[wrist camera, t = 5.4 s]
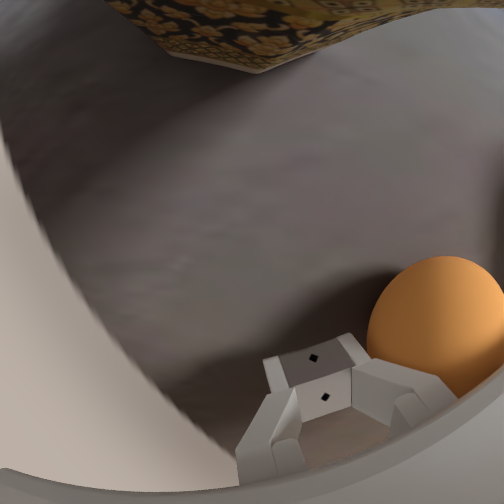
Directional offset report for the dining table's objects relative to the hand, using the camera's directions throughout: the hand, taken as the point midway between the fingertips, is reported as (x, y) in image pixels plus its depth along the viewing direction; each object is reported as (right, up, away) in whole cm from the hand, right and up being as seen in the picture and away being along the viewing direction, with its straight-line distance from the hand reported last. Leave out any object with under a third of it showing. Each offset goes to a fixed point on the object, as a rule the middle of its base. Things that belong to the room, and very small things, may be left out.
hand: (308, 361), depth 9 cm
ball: (+5, +1, -1) cm, 5 cm away
